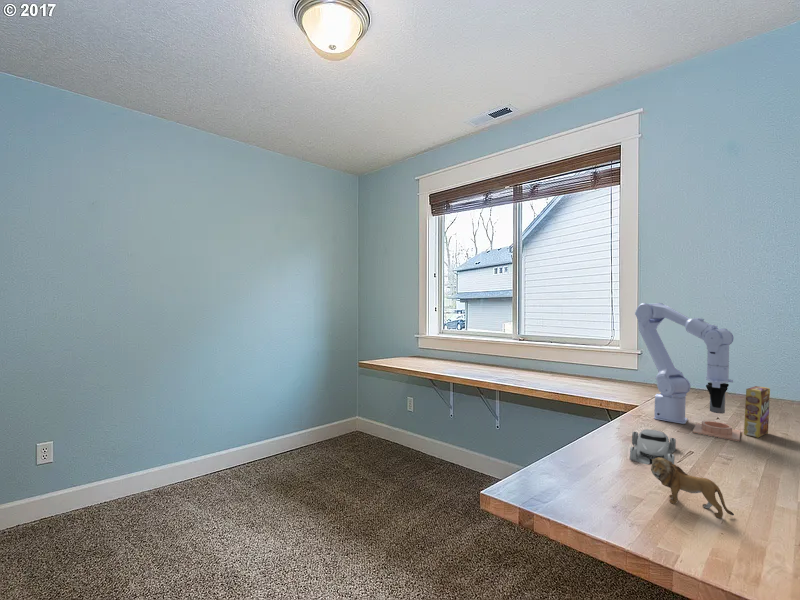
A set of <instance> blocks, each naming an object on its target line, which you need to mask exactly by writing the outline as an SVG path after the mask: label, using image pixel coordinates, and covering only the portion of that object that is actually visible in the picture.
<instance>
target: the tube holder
mask: <svg viewBox="0 0 800 600" xmlns="http://www.w3.org/2000/svg"><path fill="white" fill-rule="evenodd" d="M695 433H698V434H697V435H701V434H703V435H702V436H706V435H708V436H707V437H712V436H714V437H713V438H717V437H718V439H723V438H724V439H723V440H728V441H734V442H740V441H741V430H740V429H734V428H733V426H732V425H730V424H727V423H723V422H720V421H711V420H704V421H702V422H701V423H699V422H695V425H694V427H693V430H692V434H695Z"/></svg>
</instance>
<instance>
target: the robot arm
mask: <svg viewBox="0 0 800 600" xmlns="http://www.w3.org/2000/svg"><path fill="white" fill-rule="evenodd" d="M634 315H635V317H636V319H637V324H638V330H639V333H640V335H641V337H642V340H643V342H644V343H645V346H646V348H647V350H648V352H649V354H650V356H651V358H652V361H653V363H654V366H655V367H656V369H657V371H658V373H657V374H656V376H655V379H656V382H657V383H656V384H657V389H658V392H659V393H655V395H654V415H653V416H654V417H653V419H655V420H659V421H663V422H664V421H666V422H670V423H676V424H681V425H685V424H687V421H688V418H687V417H686V403H687V402H686V399H687V398H686V397H687V394H688V393H689V392H690V390H691V387H692V386H691V382H690V381H689V380H688V379H687V377H685V376H684V374H683V372H682V371H680V370H679V369H677V367H675V365H674V363H673V361H672V359H671V356H670V355H669V352H668V351H667V348H666V347H665V344H664V343H663V341H662V339H661V336H660V334H659V333H658V331H657V328H658V326H659V325H660V324H661V323H662V322H663V321H664V320H665V319H667V320H669V321H671V322H674V323H676V324H678V325H680V326H682V327H684V328H685V330H686V331H685V332H687V333H689V334H691V335H693V336H695V337H697V338H699V339H701V340H702V341H703V343H705V345H706V350H707V351H706V353H707V355H706V356H707V358H706V363H707V364H706V377H705V380H706V381H708V382H707V384H706V385H705V387H706V389H707V391H708V393H709V398H710V397H711V403H712V406H713V407H716V408H721V405H722V401H723V397H724V394H725V395H726V392H727V391H728V389H729V386H730V385H729V383H734V379H732V378H731V379H730V378H729V374H730V373H729V372H730V371H729V369H730V345H732V343H733V342H734V335H733V333H732V332H731V331H730V330H728V329H727V328H718V325H716V324H711V323H710V322H706V321H705V319H704V318H702V317H694V318H690V317H688V316H686V315H685V314H683V313H681V312H680V311H677V310H675V308H672V307H671V306H670V305H667V304H665V303H662V302H653V303H647V302H642V303H640V304H638V306H637V307H636V310H635V312H634Z"/></svg>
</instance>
